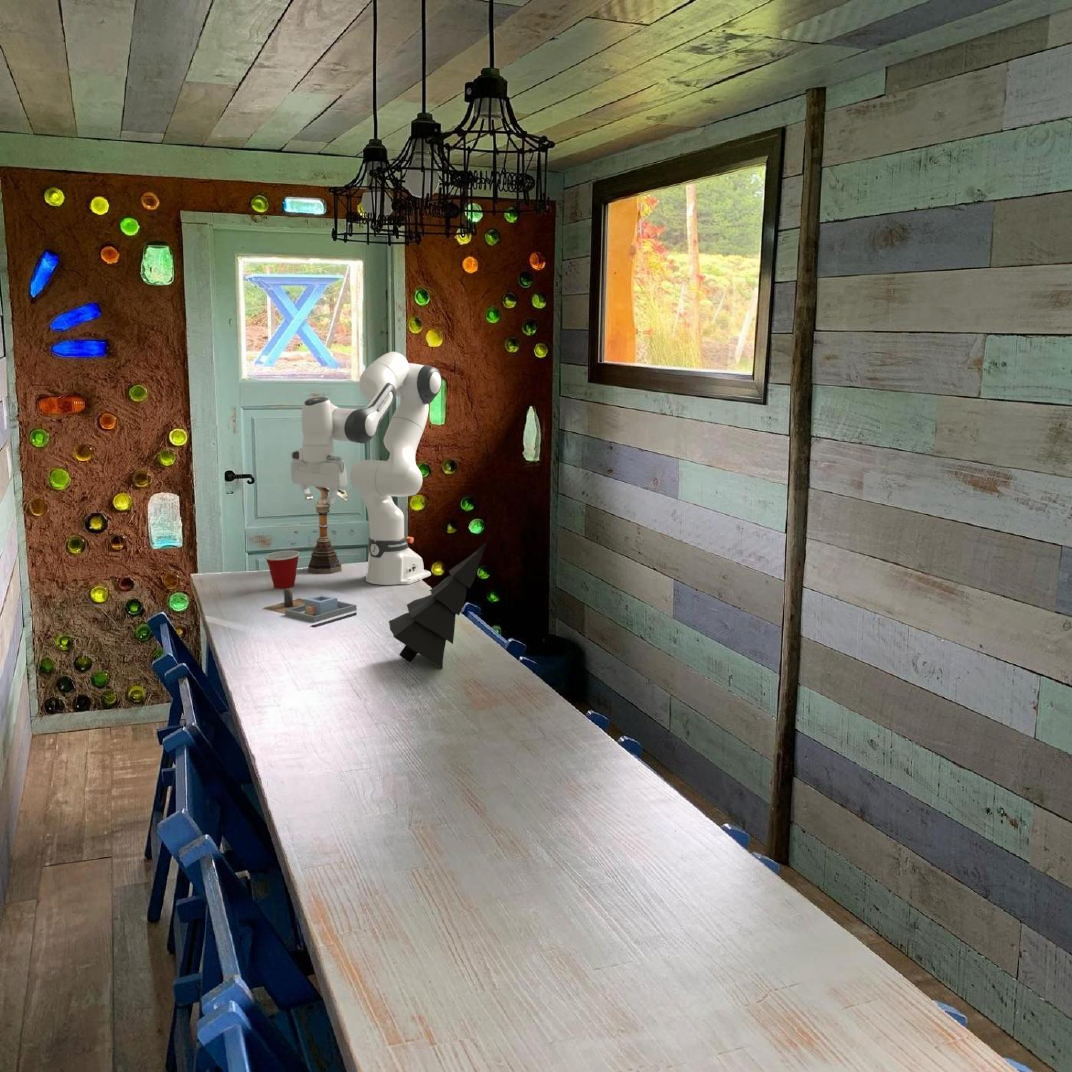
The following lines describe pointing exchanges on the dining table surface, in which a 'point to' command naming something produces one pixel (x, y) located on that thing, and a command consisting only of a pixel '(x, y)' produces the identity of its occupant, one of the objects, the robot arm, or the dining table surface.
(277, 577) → the plastic cup
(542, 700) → the dining table surface
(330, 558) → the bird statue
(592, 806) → the dining table surface
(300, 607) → the tray
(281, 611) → the board
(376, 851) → the dining table surface
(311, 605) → the collar
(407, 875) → the dining table surface
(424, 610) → the decorative tree
